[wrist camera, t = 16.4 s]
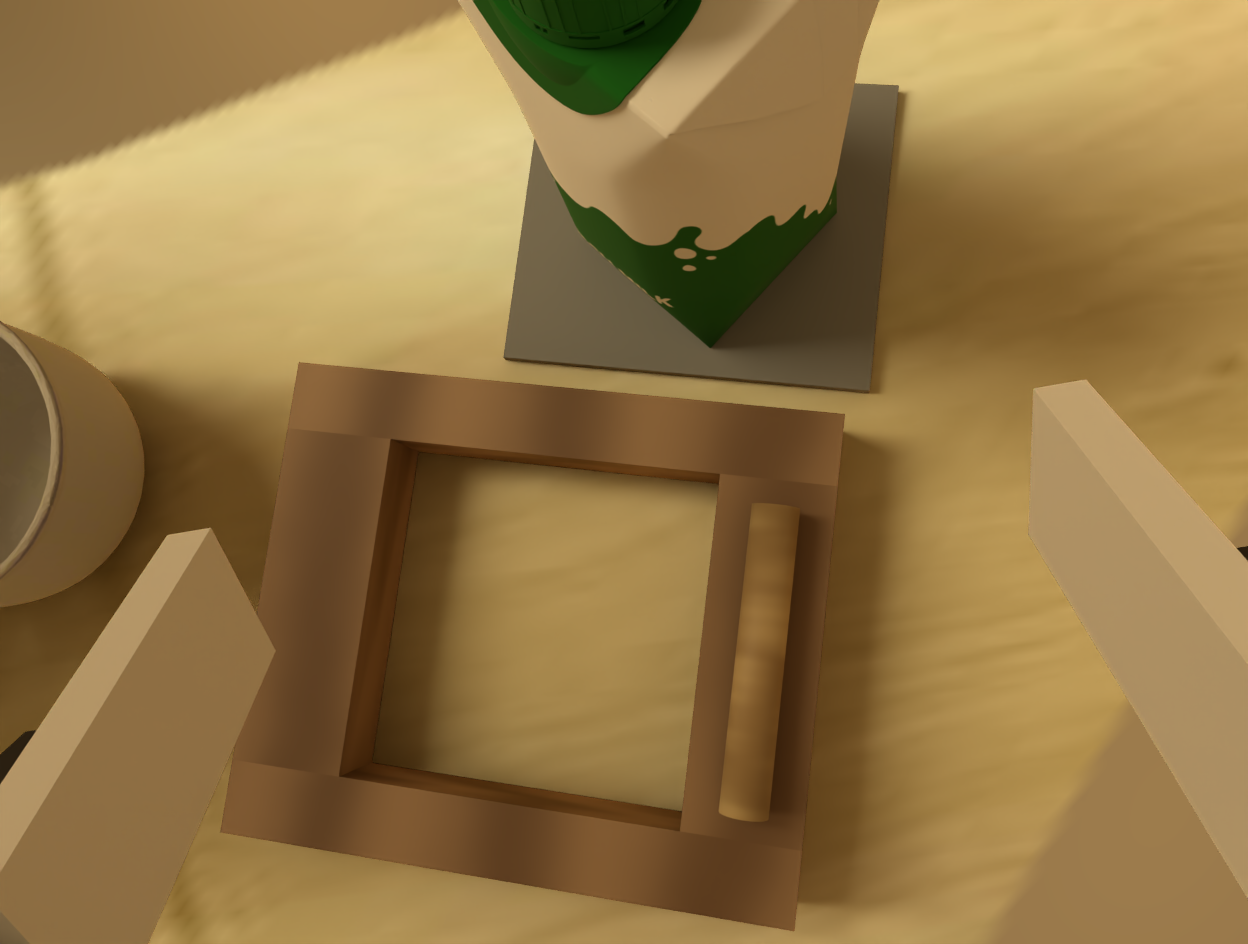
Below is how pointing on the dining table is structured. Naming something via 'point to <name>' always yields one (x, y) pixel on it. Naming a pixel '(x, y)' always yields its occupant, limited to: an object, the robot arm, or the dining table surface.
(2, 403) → the teacup
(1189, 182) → the dining table surface
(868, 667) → the dining table surface
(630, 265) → the soya milk
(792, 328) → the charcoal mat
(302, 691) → the frame
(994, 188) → the dining table surface
